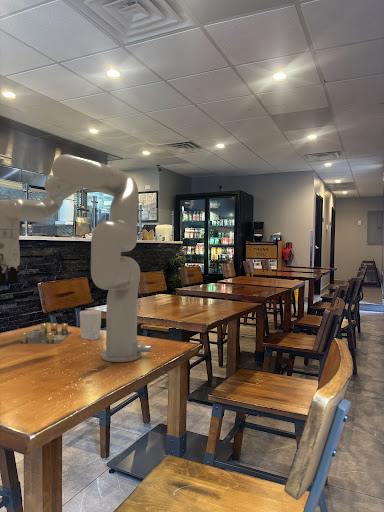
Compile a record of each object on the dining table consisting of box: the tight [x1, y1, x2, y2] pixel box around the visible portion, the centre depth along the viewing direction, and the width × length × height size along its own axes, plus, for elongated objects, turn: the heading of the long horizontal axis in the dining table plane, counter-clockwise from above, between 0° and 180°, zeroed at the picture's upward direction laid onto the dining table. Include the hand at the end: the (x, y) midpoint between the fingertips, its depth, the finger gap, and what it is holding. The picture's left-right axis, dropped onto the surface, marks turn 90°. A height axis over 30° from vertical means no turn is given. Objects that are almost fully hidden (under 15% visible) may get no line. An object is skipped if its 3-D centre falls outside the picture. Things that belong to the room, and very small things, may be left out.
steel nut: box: [27, 328, 45, 339], centre depth 137 cm, size 5×6×2 cm
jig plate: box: [18, 322, 74, 345], centre depth 137 cm, size 14×18×4 cm
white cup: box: [79, 309, 102, 341], centre depth 139 cm, size 8×8×10 cm
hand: (6, 282), depth 132 cm, fingers open, 9 cm apart
